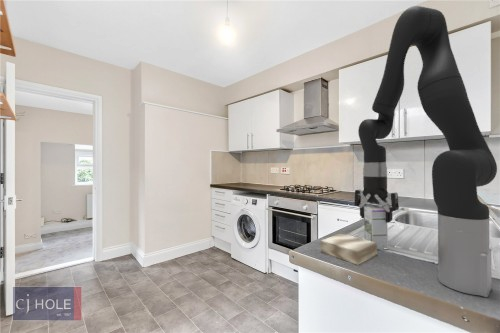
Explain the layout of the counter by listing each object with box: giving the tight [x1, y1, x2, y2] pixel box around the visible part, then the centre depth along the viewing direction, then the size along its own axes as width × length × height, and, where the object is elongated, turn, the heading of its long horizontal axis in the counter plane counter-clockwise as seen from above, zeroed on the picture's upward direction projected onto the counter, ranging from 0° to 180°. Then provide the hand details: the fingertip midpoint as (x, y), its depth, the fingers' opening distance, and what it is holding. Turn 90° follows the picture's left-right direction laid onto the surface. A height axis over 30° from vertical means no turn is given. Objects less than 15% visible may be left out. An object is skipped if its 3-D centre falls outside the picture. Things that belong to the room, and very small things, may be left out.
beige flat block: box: [320, 233, 378, 266], centre depth 76 cm, size 13×12×4 cm
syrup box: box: [363, 204, 389, 251], centre depth 82 cm, size 6×6×14 cm
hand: (375, 220), depth 82 cm, fingers open, 8 cm apart
